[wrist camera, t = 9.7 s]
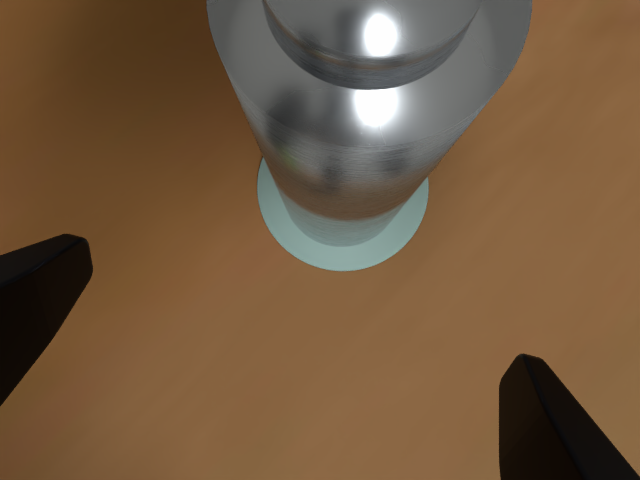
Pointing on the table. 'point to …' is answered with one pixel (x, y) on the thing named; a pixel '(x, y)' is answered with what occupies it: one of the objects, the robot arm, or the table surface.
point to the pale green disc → (338, 257)
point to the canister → (362, 95)
